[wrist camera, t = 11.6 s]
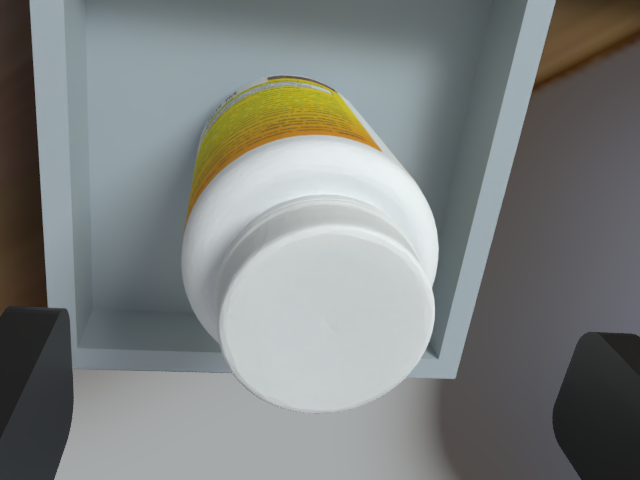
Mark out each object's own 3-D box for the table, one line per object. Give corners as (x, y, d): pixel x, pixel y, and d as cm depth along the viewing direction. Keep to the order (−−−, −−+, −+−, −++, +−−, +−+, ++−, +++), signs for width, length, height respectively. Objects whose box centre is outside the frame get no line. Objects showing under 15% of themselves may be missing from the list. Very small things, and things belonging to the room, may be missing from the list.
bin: (56, -108, 17) (22, -121, 14) (518, -38, 19) (566, -37, 16) (73, 318, 22) (51, 368, 19) (430, 332, 24) (455, 378, 22)
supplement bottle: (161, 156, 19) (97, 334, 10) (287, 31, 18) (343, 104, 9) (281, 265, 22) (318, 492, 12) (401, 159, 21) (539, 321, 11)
